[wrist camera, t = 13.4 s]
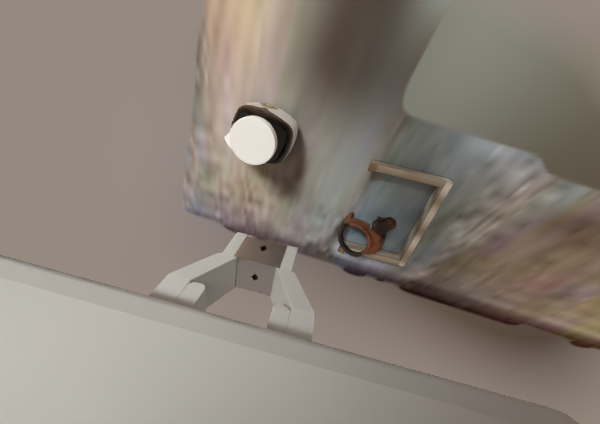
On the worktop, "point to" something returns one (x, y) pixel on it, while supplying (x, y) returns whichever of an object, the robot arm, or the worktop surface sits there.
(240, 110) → the spread jar
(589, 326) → the worktop surface
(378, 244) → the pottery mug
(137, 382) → the robot arm
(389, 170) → the wooden u-shaped frame
